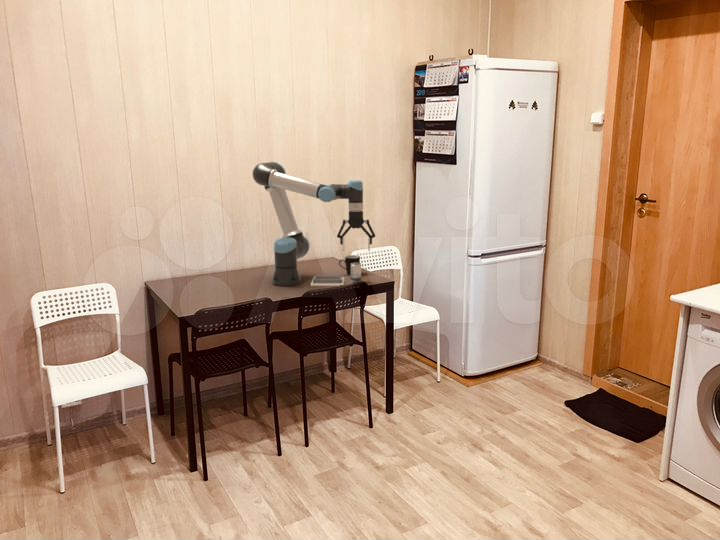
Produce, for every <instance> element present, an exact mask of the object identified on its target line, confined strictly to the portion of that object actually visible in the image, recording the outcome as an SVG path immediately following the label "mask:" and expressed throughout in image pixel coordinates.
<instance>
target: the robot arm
mask: <svg viewBox="0 0 720 540" xmlns="http://www.w3.org/2000/svg"><path fill="white" fill-rule="evenodd" d="M252 178H253V180H254V181H255V183H256V184H258V185H260V186H262V187H264V190H265V191H266V192H268V193H269V196H270V198H271V202H272V205H273V208H274V210H275V214H276V217H277V219H278V223H279V225H280V226H279V227H280V228H281V232H282V234H283V235H282V236H281V238H278V239H276V240H275V241H274V245H273V250H274V253H273V254H274V272H273V275H272V278H271V281H272V282H271V283H272V285H274V286H278V287H291V286H297V285H299V284H301V282H302V280H301V279H302V278H301V275H300V273H299V270H298V259H300V258H302V259H303V257H305V255H307V254H308V252H309V251H310V241H309V240H308V238H307V237H305V235H304V234H303V231H302V230H301V229H299V228H298V224H297V221H296V217H295V216H294V212H293V210H292V209H293V208H292V207H291V203H290V200H289V197H288V194H287V192H286V191H290V192H293V193H297V194H301V195H304V196H307V197H312V198H315V199H318V200H320V201H321V202H323V203H330V202H332V201H336V200H348V210H349V211H348V219H343V220H342V225H341V227H340V229H339V231H338V233H337V235H336V238H339V239H340V240H339V241H340V242H339V243H340V245H342V252H344V251H345V238H344V237H345V236H346V234H348V232H349V231H350V230H351V229H361V230H362V231H363V232H364V233H365V235H367V237H368V239H367V240H368V243H367V244H368V248H367V249H368V250H367V251H368V252H370V251H371V245H372V244H373V239H374V238H375V237H376V233H375V231H374V229H373V227H372V226H371V224H370V220H369V219H365V220H364V211H363V210H364V186H363V182H362V181H361V180H349V181H348V183H347V184H339V183H338V184H335V183H331V184H323V183H319V182H315V181H312V180H308V179H304V178H302V177H301V178H300V177H297V176H293V175H290V174H287V173H286V169H285V168H284V166H283V165H282V164H281V163H279V162H274V161H269V162H261V163H257V164H256V165H255V167H254V168H253V170H252ZM347 223H348V225H349V226H347V228H346V229H345V230H344V231H343V229H344V227H345V226H346V225H347ZM364 223H365V225H367V227H368V229H369V231H370V232H369V231H368V230H367V229H366V228H365V226H364V225H363V224H364ZM342 231H343V233H342Z"/></svg>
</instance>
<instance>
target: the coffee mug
mask: <svg viewBox="0 0 720 540" xmlns="http://www.w3.org/2000/svg"><path fill="white" fill-rule="evenodd" d="M360 260H361V256H360V255H356V254H355V255H354V254H349V255H345V256H344V259H339V262H338V265H339V266H340V268H343V269H344V270H345V271H346V275H348V276H351V263H354V262H358V263H361V262H360ZM342 261H343V262H344V263H345V267H344V266H343V265H341V262H342Z"/></svg>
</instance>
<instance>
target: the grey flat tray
mask: <svg viewBox="0 0 720 540" xmlns="http://www.w3.org/2000/svg"><path fill="white" fill-rule="evenodd" d="M310 282H311V283H310V287H341V286H340V285H343V286H344V283H345V277H343V275H314V276H313V278H312V280H311V281H310Z"/></svg>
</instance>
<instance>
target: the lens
mask: <svg viewBox="0 0 720 540" xmlns="http://www.w3.org/2000/svg"><path fill="white" fill-rule="evenodd" d="M360 281H361V282H362V263H361V262H359V263H358V262H354V263H351V275H350V283H353V284H355V283H354V282H360ZM361 282H360V283H361Z"/></svg>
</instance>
